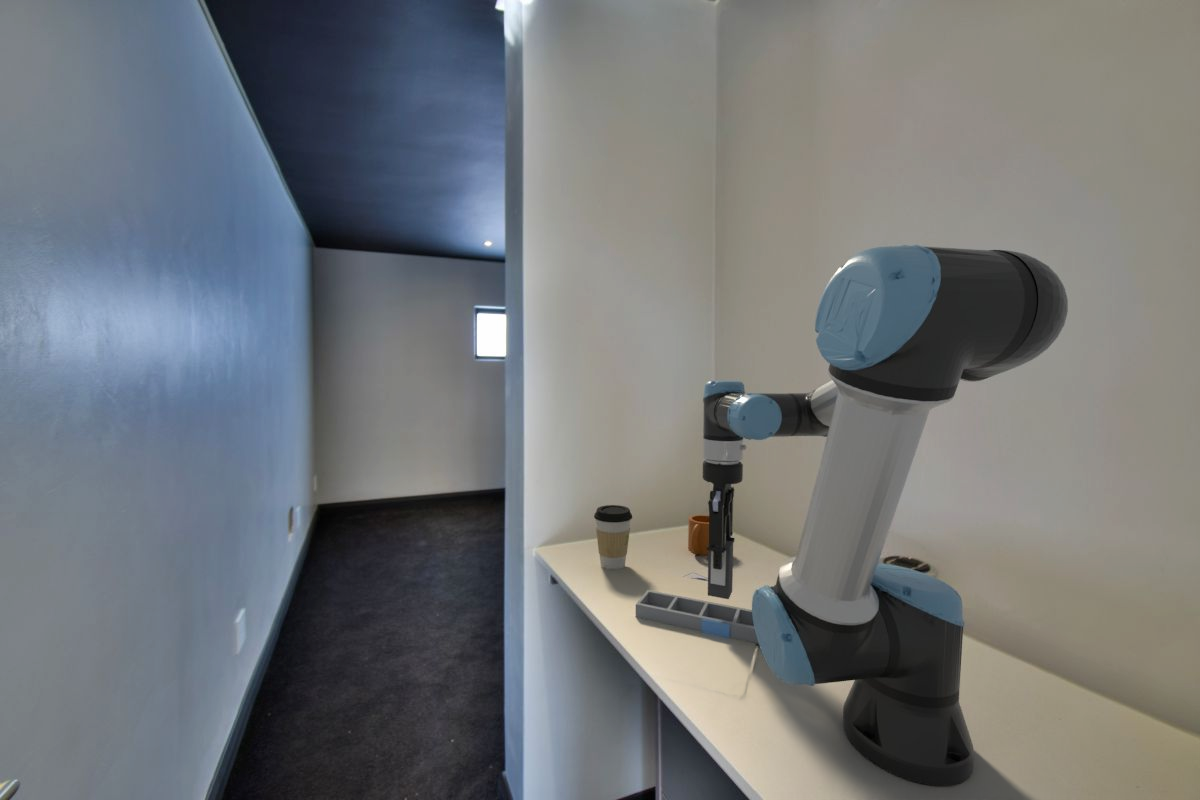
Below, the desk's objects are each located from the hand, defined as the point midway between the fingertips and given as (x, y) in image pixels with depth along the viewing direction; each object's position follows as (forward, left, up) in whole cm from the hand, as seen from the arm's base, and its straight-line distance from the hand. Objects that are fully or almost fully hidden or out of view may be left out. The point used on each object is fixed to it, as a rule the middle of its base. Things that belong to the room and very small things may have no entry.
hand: (720, 578), depth 98 cm
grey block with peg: (0, 0, -3) cm, 3 cm away
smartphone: (+16, +11, -11) cm, 22 cm away
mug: (+41, +13, -10) cm, 44 cm away
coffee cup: (+20, +31, -10) cm, 38 cm away
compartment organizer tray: (0, +3, -10) cm, 10 cm away
